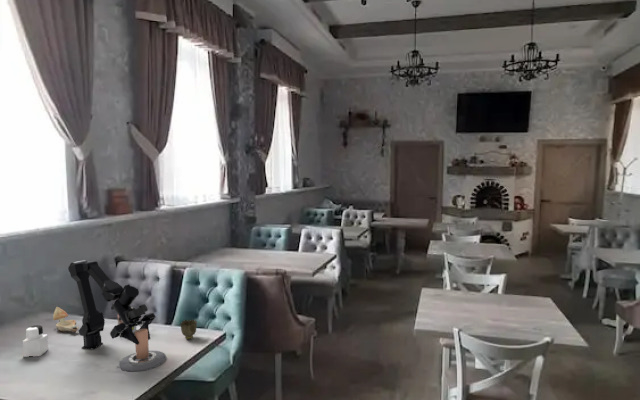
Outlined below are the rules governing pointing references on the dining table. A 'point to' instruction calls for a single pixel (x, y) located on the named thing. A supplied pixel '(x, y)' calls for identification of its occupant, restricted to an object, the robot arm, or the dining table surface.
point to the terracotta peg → (142, 344)
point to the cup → (188, 328)
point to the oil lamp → (64, 325)
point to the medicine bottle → (35, 342)
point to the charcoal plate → (134, 368)
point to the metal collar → (132, 362)
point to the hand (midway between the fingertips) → (143, 341)
